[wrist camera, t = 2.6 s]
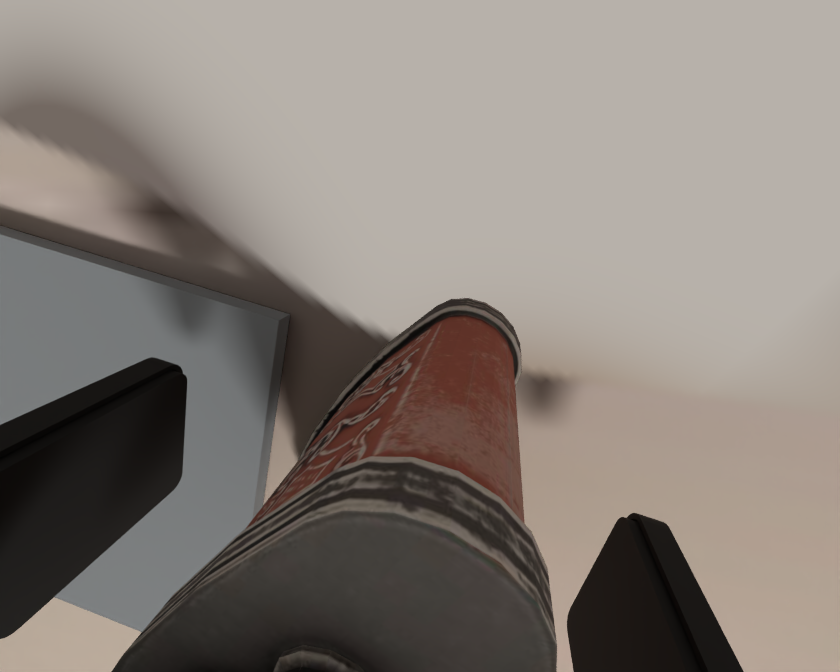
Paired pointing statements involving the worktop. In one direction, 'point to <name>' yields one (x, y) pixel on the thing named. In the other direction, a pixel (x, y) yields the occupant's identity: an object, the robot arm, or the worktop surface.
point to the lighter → (384, 530)
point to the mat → (125, 346)
